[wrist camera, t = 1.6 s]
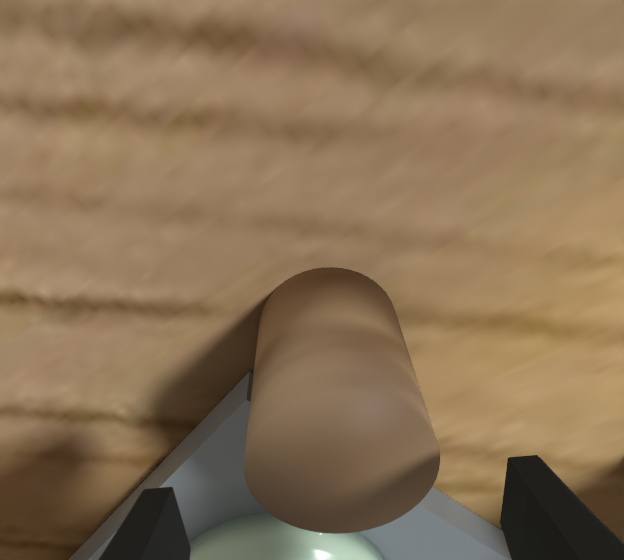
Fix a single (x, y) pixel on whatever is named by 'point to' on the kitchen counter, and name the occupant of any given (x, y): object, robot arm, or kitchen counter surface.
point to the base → (231, 496)
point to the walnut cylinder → (336, 408)
